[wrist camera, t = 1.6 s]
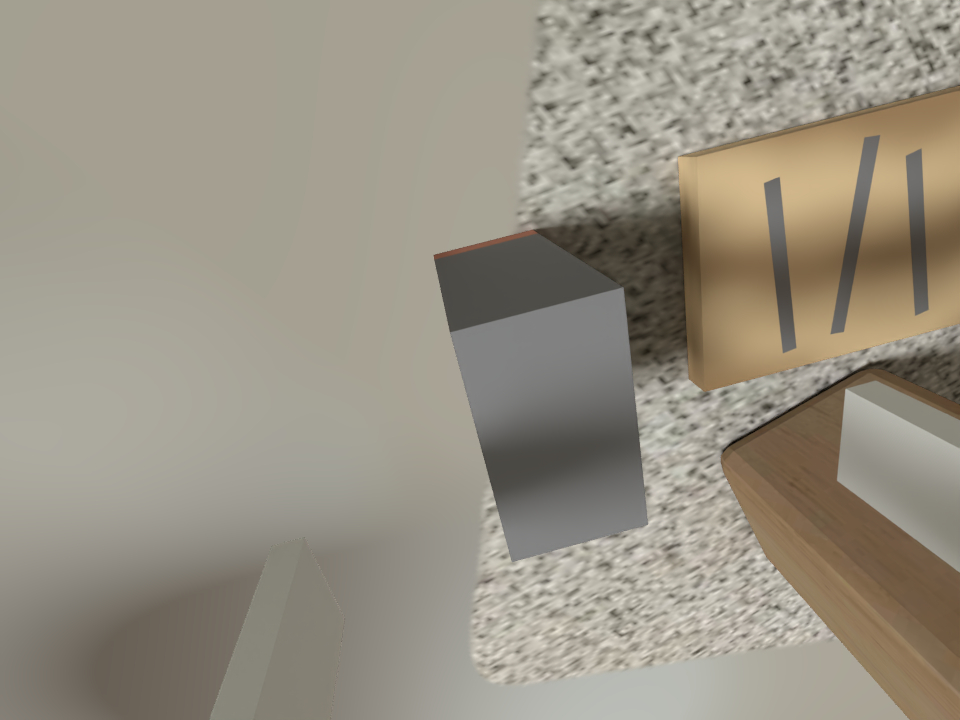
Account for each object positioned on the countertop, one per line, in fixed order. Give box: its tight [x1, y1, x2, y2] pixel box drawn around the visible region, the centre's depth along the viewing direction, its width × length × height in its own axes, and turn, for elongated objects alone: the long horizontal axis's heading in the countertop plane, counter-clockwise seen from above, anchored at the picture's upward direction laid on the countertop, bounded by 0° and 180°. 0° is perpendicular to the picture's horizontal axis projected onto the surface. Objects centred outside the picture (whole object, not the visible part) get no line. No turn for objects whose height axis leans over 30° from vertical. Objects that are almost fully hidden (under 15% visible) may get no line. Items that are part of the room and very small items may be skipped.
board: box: [678, 86, 960, 392], centre depth 23 cm, size 11×14×2 cm
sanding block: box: [434, 230, 648, 562], centre depth 18 cm, size 8×4×10 cm, turn 13°
